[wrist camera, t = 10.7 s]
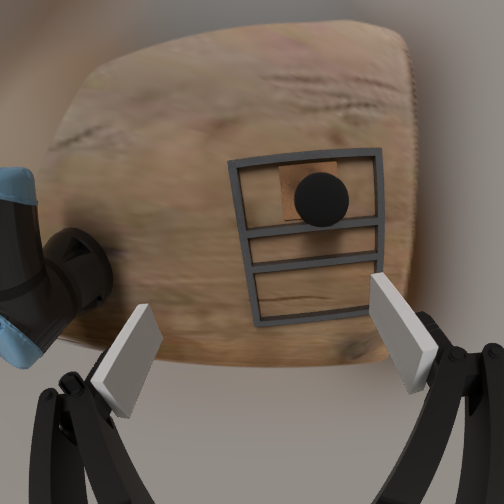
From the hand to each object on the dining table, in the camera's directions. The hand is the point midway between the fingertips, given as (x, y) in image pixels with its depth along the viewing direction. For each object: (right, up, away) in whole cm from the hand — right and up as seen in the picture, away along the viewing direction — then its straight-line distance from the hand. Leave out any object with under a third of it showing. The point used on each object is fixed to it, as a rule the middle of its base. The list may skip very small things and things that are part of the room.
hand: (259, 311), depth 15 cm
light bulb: (+7, +11, +20) cm, 24 cm away
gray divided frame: (+8, +5, +22) cm, 24 cm away
